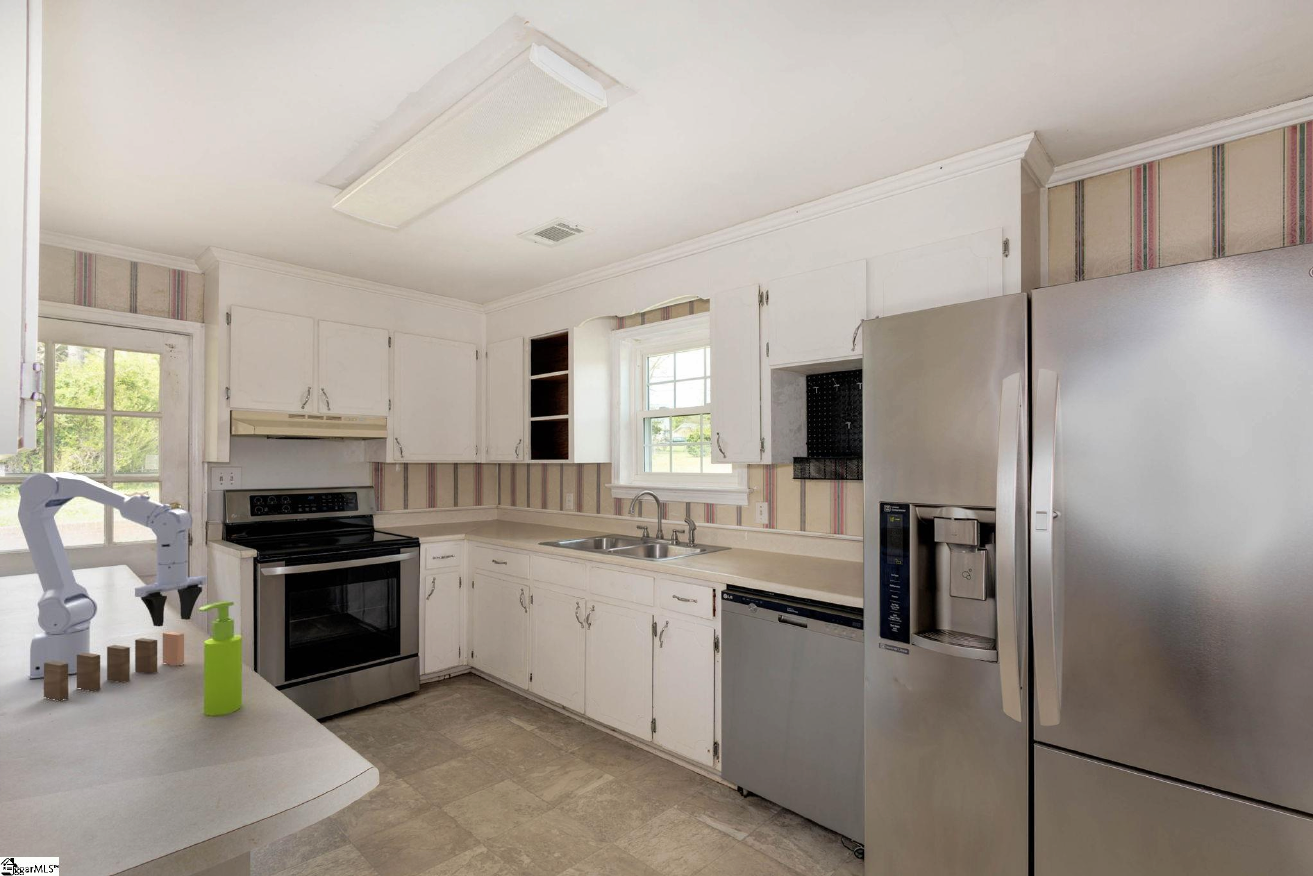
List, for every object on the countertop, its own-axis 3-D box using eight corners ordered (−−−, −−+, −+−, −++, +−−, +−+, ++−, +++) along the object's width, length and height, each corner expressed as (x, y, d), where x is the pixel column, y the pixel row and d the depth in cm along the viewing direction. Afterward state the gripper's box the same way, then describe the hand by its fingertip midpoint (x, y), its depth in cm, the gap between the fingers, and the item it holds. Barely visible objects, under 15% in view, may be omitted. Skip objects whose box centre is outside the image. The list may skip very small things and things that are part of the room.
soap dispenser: (191, 714, 121) (191, 605, 121) (230, 701, 127) (230, 597, 127) (209, 720, 118) (209, 608, 119) (248, 706, 124) (248, 600, 125)
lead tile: (177, 666, 149) (177, 635, 149) (162, 664, 150) (162, 633, 150) (184, 664, 150) (184, 633, 150) (169, 662, 152) (169, 631, 152)
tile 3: (122, 682, 138) (122, 649, 138) (106, 680, 140) (107, 646, 140) (129, 680, 140) (129, 647, 140) (114, 677, 141) (114, 645, 141)
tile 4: (92, 691, 133) (92, 657, 133) (76, 688, 135) (76, 654, 135) (100, 689, 134) (100, 654, 135) (84, 686, 136) (84, 652, 136)
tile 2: (150, 674, 143) (150, 641, 144) (135, 671, 145) (135, 639, 145) (157, 672, 145) (157, 640, 145) (142, 669, 146) (141, 638, 147)
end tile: (59, 701, 128) (59, 665, 128) (43, 698, 130) (44, 662, 130) (68, 699, 129) (68, 663, 129) (52, 696, 131) (52, 660, 131)
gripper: (150, 569, 142) (150, 632, 142) (215, 558, 156) (215, 616, 156) (128, 567, 145) (128, 629, 145) (195, 556, 158) (194, 613, 158)
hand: (172, 622), depth 150 cm, fingers open, 5 cm apart
